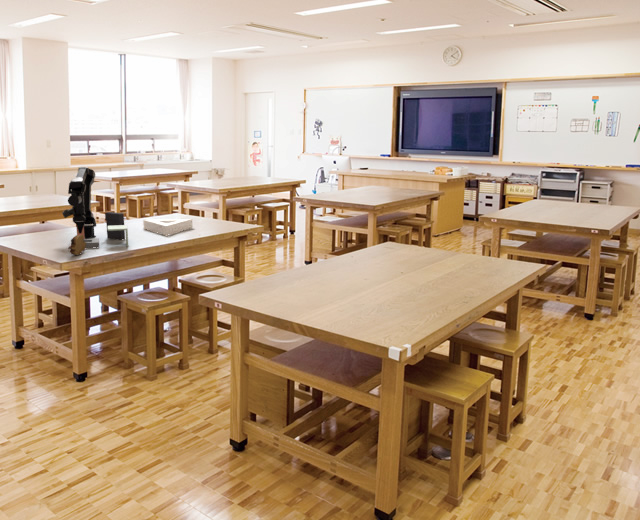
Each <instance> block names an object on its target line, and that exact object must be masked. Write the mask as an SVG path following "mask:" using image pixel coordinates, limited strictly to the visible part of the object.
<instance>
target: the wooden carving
mask: <svg viewBox="0 0 640 520" xmlns="http://www.w3.org/2000/svg"><path fill="white" fill-rule="evenodd" d="M83 240H84V236H83V235H77V234H76V235H75V236H73V237H72V238H71V239H70V246H69V247H68V249H69V254H71V255H74V256H79V255H78V254H80V253H81V254H82V253H83V252H85V250H86V249H85V246H86V242H83ZM81 254H80V255H81Z"/></svg>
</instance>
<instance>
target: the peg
mask: <svg viewBox="0 0 640 520" xmlns="http://www.w3.org/2000/svg"><path fill="white" fill-rule="evenodd" d="M75 226H76V235H83V236H84V226H83V230H82V233H79V231H78V228H77V225H76V224H75ZM84 239H86V238H85V237H84Z"/></svg>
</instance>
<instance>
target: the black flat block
mask: <svg viewBox="0 0 640 520" xmlns="http://www.w3.org/2000/svg"><path fill="white" fill-rule="evenodd" d="M124 215H125V214H124V213H123V212H112V211H108V212H105V213H104V217H105V221H106V236H107V237H106V238H107V239H108V238H110V239H109V240H116V239H119V240H118V241H123V240H122V239H124V240H126V230H116V231H108V226H114V225H125V217H124Z"/></svg>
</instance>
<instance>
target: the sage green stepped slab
mask: <svg viewBox="0 0 640 520" xmlns="http://www.w3.org/2000/svg"><path fill="white" fill-rule="evenodd" d="M116 230H125V243H126V247H127V246H128V247H129V233H128V232H129V231H128V225H127V224H124V225H114V226H108V231H116Z"/></svg>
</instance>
